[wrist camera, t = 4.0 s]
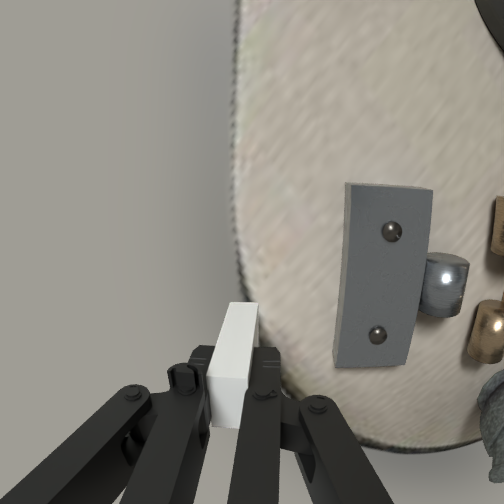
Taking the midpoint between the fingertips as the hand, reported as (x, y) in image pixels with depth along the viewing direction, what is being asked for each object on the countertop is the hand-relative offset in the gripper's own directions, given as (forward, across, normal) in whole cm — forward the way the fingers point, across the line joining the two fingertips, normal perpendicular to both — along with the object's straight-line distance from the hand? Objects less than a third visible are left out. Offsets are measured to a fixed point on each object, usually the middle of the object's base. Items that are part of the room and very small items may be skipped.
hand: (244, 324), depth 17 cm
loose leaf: (+8, +12, 0) cm, 14 cm away
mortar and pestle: (+8, +28, -14) cm, 32 cm away
